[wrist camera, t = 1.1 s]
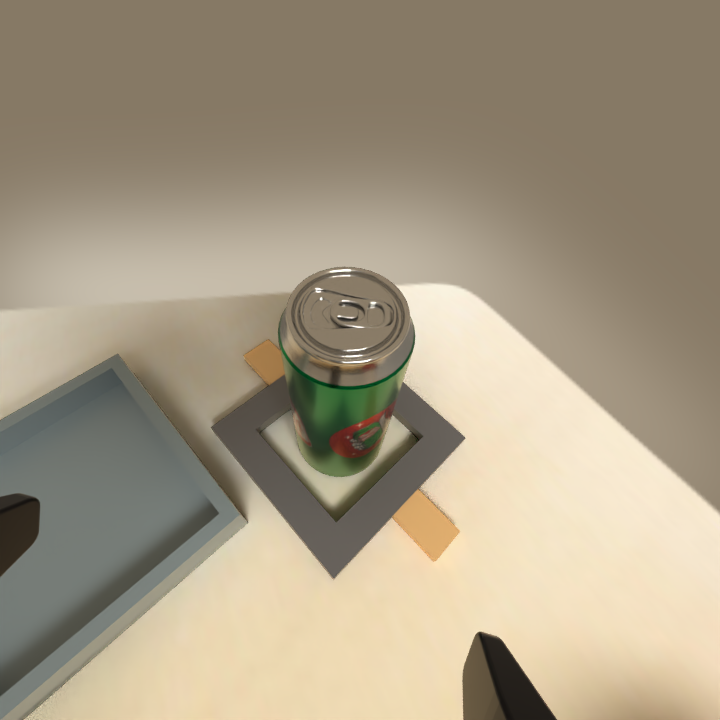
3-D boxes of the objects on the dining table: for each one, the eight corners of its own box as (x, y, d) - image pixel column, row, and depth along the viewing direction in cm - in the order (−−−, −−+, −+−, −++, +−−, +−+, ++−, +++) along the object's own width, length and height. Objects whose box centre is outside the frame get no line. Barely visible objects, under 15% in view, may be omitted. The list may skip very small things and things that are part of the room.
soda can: (304, 397, 25) (287, 252, 15) (382, 403, 25) (419, 265, 15) (291, 476, 22) (260, 365, 12) (380, 483, 22) (423, 379, 12)
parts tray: (-13, 751, 15) (-60, 771, 14) (-101, 512, 20) (-146, 502, 18) (247, 522, 21) (240, 514, 19) (133, 372, 25) (117, 353, 23)
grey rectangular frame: (375, 631, 18) (377, 633, 18) (187, 399, 24) (183, 392, 23) (501, 478, 23) (507, 474, 22) (317, 312, 29) (316, 305, 28)
